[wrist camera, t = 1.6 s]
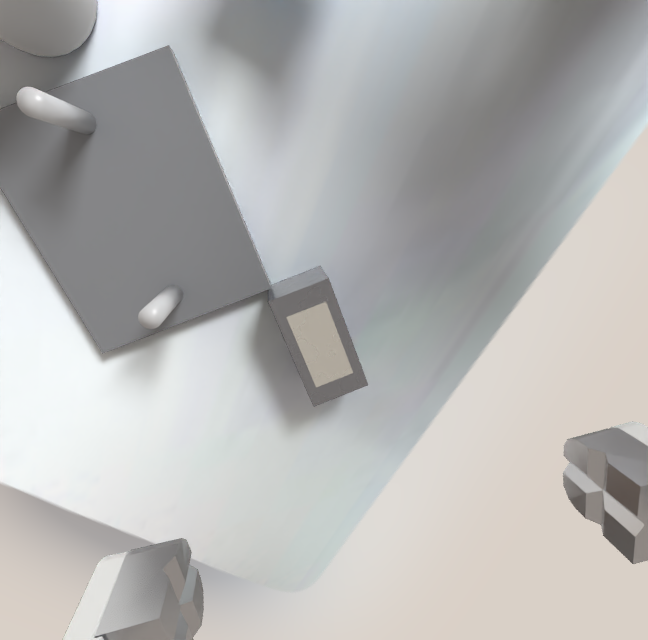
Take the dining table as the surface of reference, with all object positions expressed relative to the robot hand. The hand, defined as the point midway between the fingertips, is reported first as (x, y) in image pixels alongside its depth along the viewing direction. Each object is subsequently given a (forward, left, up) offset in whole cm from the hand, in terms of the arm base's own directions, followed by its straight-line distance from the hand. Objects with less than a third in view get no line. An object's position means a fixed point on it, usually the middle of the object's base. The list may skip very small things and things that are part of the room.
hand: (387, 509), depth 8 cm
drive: (0, +4, -25) cm, 25 cm away
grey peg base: (+10, -9, -25) cm, 28 cm away
